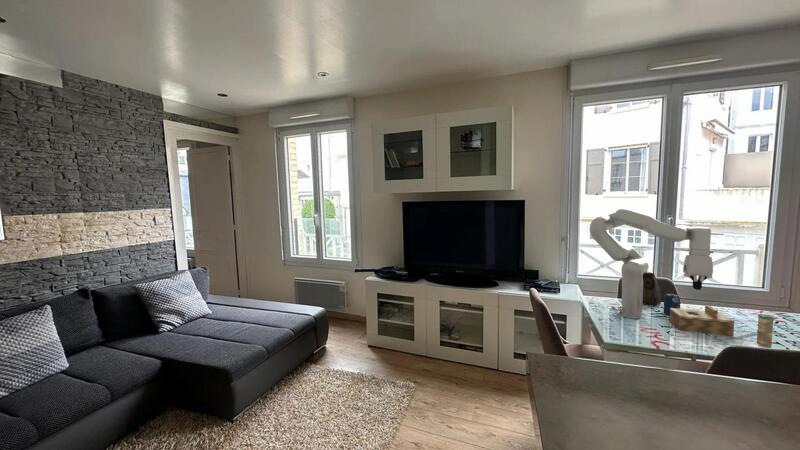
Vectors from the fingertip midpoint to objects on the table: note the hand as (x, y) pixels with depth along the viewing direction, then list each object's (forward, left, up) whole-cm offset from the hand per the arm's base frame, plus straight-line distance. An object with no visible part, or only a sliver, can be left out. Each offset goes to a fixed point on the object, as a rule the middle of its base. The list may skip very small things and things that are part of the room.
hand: (696, 289), depth 157 cm
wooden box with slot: (+2, 0, -21) cm, 21 cm away
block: (+19, -13, -21) cm, 31 cm away
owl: (-6, +41, -21) cm, 47 cm away
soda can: (-3, +19, -21) cm, 29 cm away
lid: (+2, 0, -13) cm, 14 cm away
